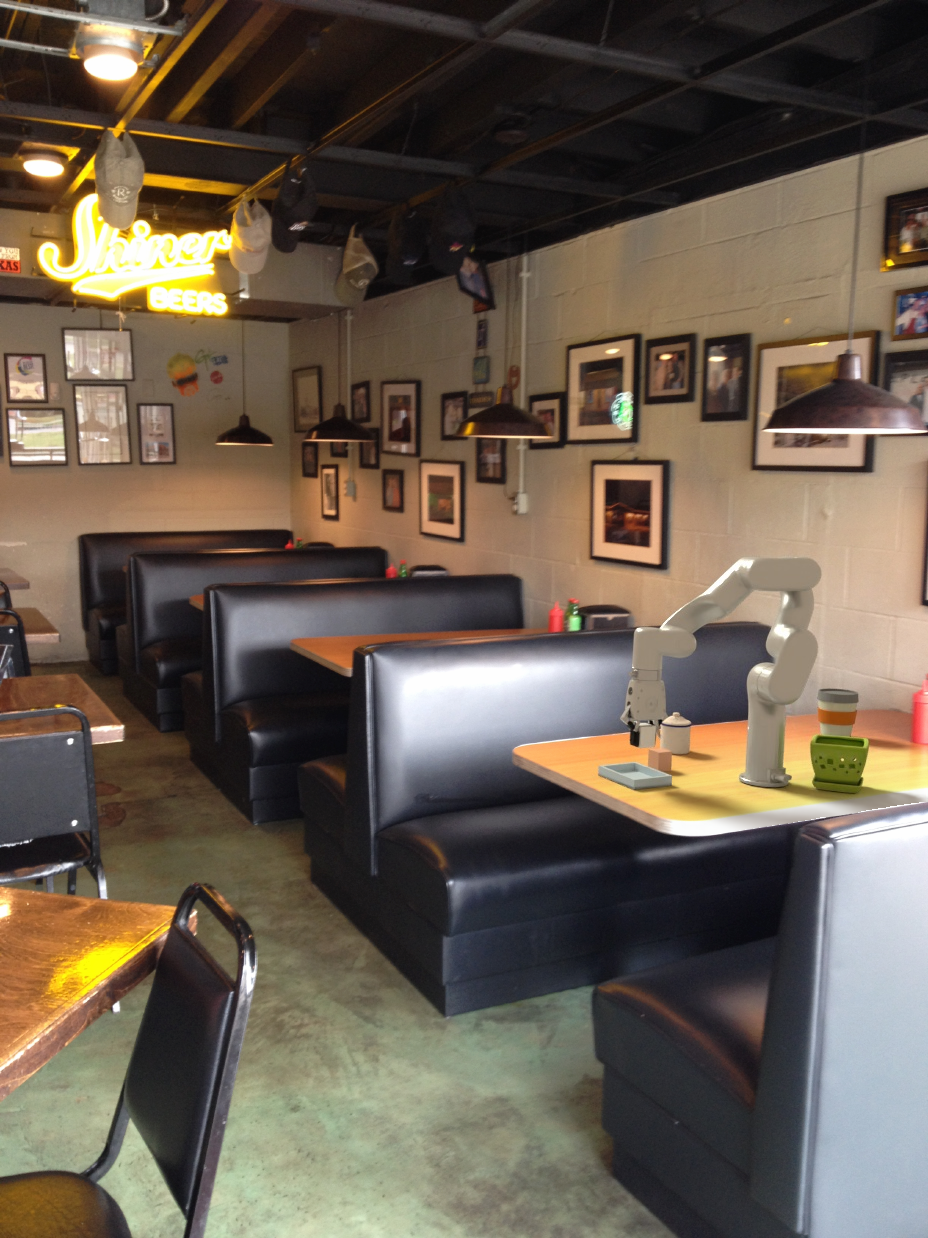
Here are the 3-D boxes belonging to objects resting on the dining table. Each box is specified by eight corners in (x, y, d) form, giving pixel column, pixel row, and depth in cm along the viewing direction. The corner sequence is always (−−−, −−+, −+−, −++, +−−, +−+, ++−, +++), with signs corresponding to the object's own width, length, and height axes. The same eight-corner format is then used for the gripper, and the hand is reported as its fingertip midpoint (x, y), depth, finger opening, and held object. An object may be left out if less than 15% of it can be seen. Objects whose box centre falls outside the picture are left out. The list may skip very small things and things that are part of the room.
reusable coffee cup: (806, 734, 331) (809, 689, 330) (835, 732, 337) (838, 687, 335) (835, 742, 320) (838, 695, 319) (865, 740, 325) (867, 693, 324)
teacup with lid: (696, 752, 302) (698, 714, 301) (675, 756, 296) (677, 717, 295) (666, 745, 311) (667, 707, 310) (645, 748, 306) (647, 710, 305)
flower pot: (867, 785, 268) (869, 737, 267) (865, 798, 256) (868, 748, 254) (811, 778, 274) (813, 732, 273) (806, 791, 261) (809, 742, 260)
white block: (654, 747, 262) (655, 726, 262) (640, 748, 260) (641, 727, 260) (644, 743, 266) (645, 722, 266) (630, 744, 264) (631, 723, 264)
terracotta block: (671, 771, 279) (672, 751, 278) (657, 772, 277) (658, 752, 276) (661, 767, 283) (661, 748, 282) (647, 768, 281) (648, 749, 280)
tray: (671, 785, 263) (672, 775, 263) (633, 790, 258) (634, 780, 258) (634, 771, 277) (635, 761, 277) (598, 775, 272) (598, 765, 272)
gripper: (628, 678, 255) (624, 750, 256) (682, 676, 262) (677, 746, 264) (610, 674, 261) (607, 744, 263) (663, 672, 269) (659, 740, 271)
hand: (642, 744), depth 263 cm, fingers closed on white block, 4 cm apart
